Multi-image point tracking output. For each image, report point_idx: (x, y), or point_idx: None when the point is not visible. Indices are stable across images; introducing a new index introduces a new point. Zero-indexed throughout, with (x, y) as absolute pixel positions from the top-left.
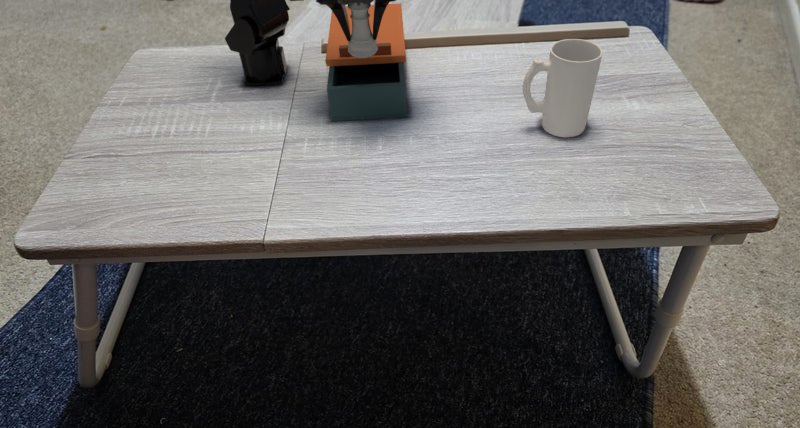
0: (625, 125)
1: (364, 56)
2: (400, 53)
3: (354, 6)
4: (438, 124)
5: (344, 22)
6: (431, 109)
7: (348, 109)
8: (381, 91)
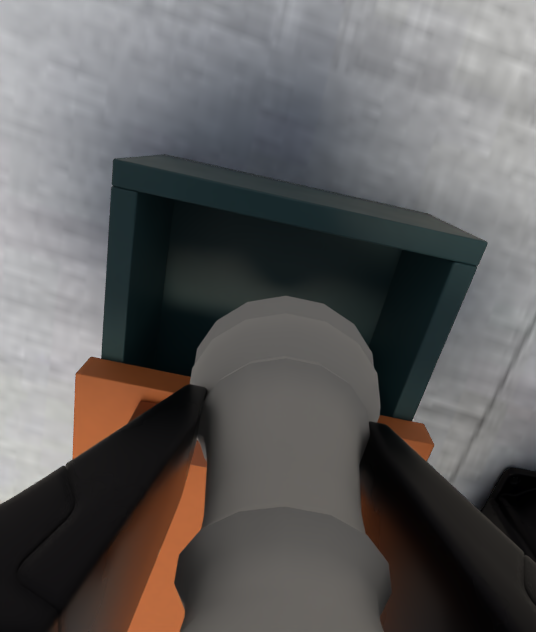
0: None
1: (293, 299)
2: (97, 395)
3: None
4: (53, 62)
5: (465, 535)
6: (69, 178)
7: (375, 206)
8: (236, 182)
